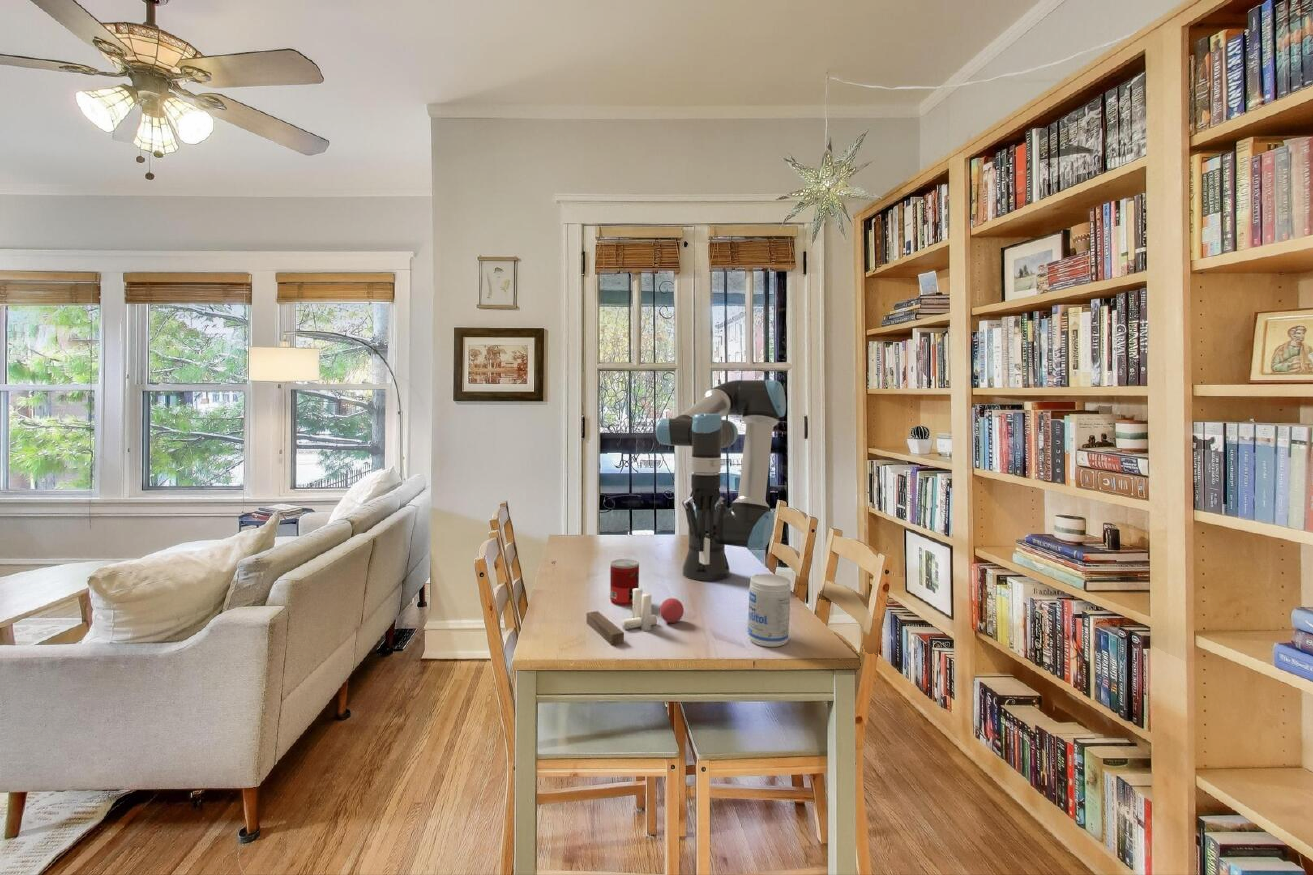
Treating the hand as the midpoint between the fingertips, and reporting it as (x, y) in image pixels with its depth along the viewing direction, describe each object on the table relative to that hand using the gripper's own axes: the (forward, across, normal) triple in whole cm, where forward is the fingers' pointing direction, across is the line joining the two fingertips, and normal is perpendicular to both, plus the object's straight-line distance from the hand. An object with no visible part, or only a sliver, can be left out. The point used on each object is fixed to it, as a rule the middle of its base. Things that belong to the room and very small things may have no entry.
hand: (704, 563), depth 162 cm
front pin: (+13, -14, 0) cm, 19 cm away
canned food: (+14, -14, +19) cm, 27 cm away
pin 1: (+14, -18, +2) cm, 23 cm away
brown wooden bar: (+14, -28, 0) cm, 31 cm away
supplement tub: (+14, +5, -21) cm, 26 cm away
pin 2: (+14, -18, -2) cm, 23 cm away
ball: (+11, -10, -1) cm, 15 cm away
